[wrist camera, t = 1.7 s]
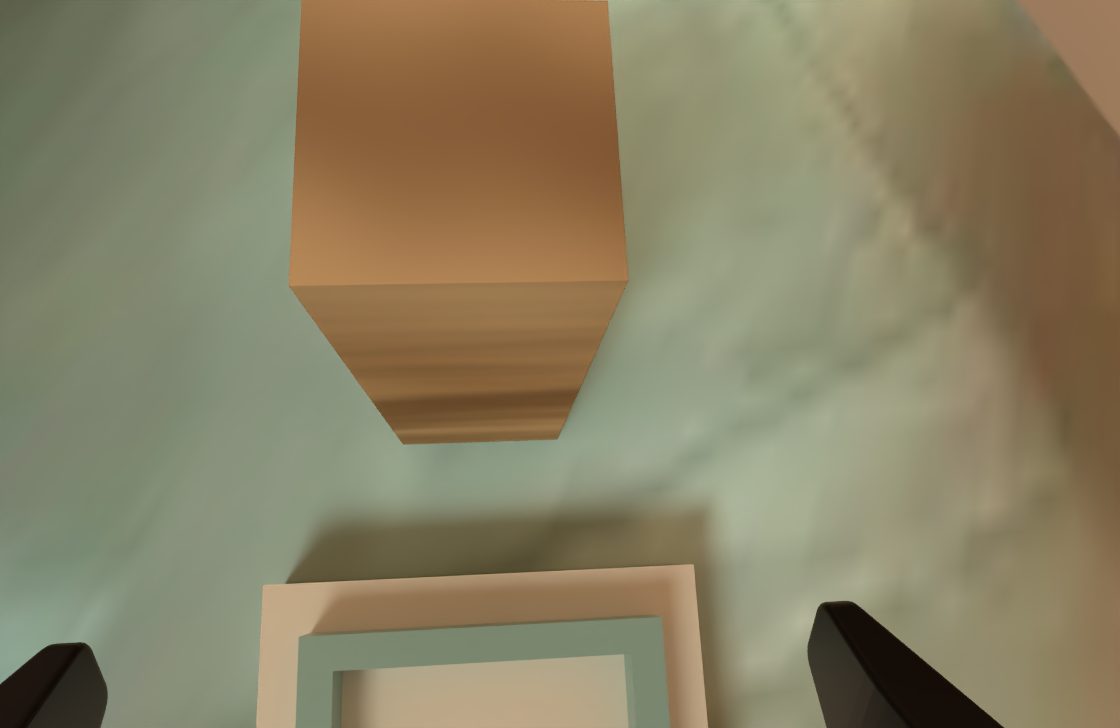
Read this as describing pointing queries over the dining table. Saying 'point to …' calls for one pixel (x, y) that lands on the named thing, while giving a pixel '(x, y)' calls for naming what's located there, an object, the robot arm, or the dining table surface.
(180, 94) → the dining table surface
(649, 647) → the base plate
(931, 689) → the robot arm
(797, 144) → the dining table surface
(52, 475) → the dining table surface
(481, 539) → the dining table surface
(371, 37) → the oak brick
